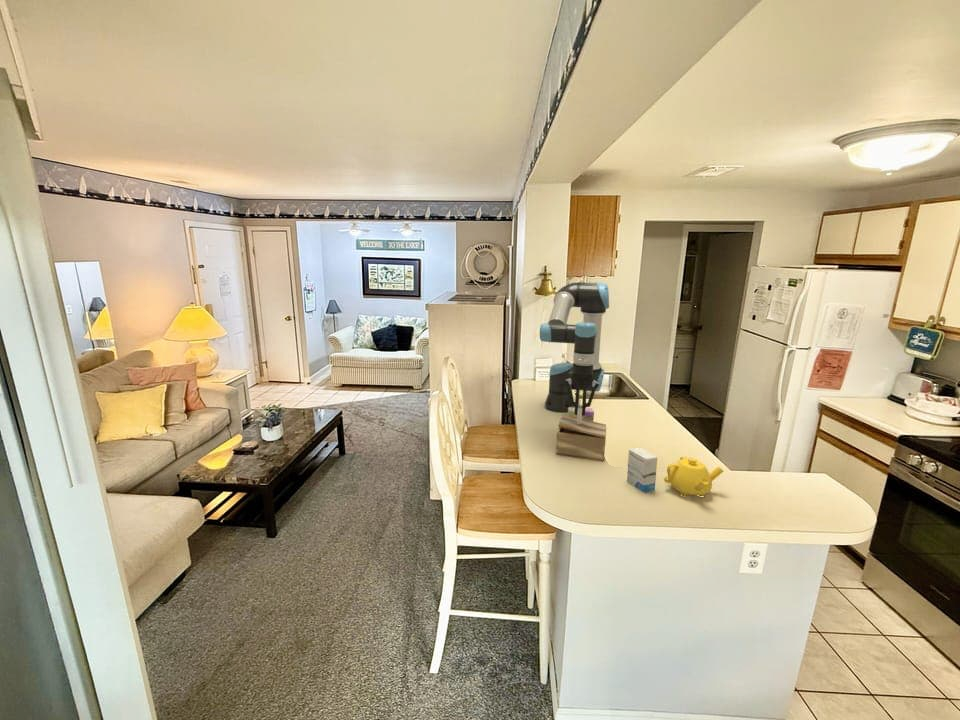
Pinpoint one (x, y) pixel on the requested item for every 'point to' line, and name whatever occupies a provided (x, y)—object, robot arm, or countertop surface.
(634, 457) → the ink box
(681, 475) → the teapot
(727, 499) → the countertop surface
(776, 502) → the countertop surface
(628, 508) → the countertop surface
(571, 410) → the box
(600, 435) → the lid
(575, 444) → the brown wooden crate
